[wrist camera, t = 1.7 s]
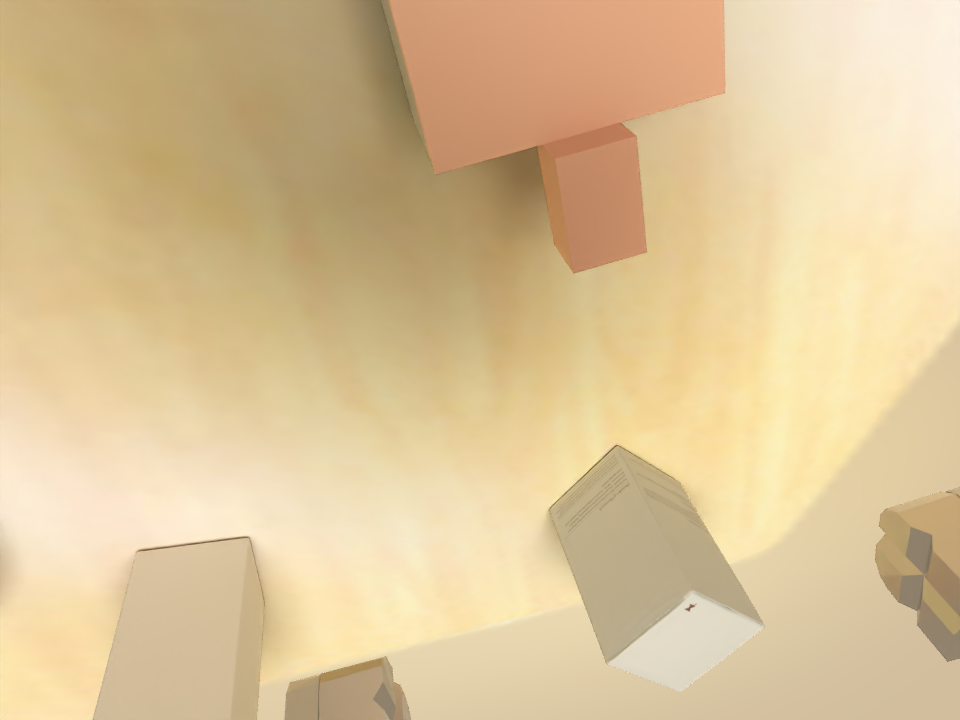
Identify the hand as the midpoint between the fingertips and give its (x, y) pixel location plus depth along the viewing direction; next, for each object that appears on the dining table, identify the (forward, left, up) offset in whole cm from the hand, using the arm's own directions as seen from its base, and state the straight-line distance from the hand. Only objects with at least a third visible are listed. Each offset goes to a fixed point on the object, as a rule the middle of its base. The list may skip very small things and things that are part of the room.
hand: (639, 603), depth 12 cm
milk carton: (+26, -22, -29) cm, 45 cm away
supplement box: (+30, +7, -29) cm, 42 cm away
